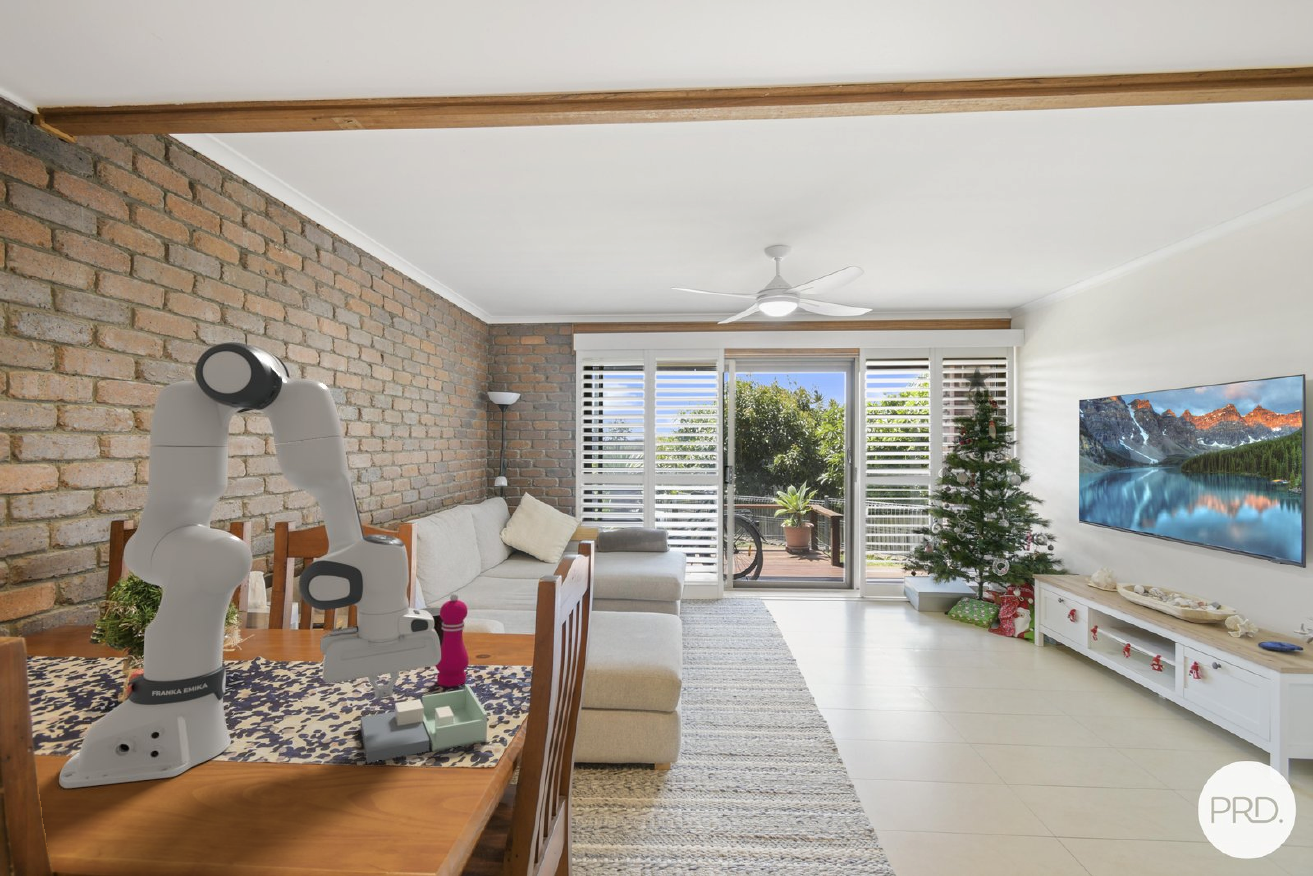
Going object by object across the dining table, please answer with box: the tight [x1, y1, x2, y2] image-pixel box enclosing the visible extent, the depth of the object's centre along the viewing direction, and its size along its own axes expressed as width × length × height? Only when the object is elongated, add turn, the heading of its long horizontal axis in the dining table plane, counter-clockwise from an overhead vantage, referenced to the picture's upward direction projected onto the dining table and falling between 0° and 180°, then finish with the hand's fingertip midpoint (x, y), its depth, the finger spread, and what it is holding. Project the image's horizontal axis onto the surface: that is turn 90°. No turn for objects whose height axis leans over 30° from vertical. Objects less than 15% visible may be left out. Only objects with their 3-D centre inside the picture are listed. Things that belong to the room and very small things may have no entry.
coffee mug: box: [419, 606, 444, 648], centre depth 166 cm, size 12×9×10 cm
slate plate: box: [360, 711, 430, 764], centre depth 118 cm, size 10×15×2 cm, turn 29°
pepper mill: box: [434, 593, 470, 688], centre depth 146 cm, size 7×7×20 cm
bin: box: [421, 683, 488, 753], centre depth 123 cm, size 10×16×5 cm, turn 29°
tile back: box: [394, 698, 424, 726], centre depth 122 cm, size 4×4×2 cm
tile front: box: [435, 706, 454, 735], centre depth 119 cm, size 4×4×2 cm
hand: (383, 696), depth 120 cm, fingers closed
